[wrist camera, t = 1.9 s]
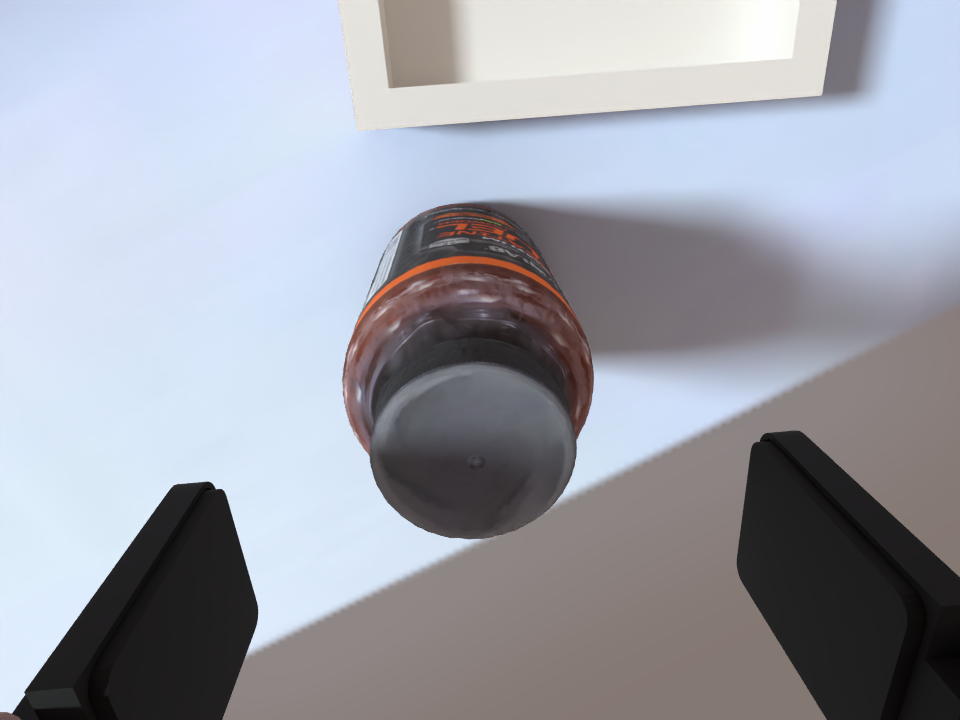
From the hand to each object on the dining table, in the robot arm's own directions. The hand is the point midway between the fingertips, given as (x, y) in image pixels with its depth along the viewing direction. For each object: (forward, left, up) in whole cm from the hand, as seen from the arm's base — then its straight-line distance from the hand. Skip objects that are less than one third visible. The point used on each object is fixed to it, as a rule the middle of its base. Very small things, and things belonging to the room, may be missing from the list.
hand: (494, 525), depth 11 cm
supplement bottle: (-1, 0, -13) cm, 13 cm away
